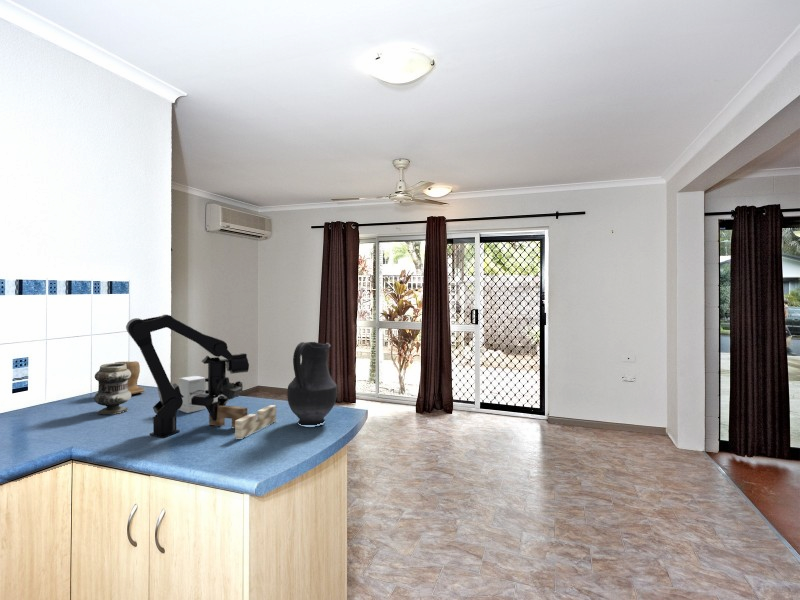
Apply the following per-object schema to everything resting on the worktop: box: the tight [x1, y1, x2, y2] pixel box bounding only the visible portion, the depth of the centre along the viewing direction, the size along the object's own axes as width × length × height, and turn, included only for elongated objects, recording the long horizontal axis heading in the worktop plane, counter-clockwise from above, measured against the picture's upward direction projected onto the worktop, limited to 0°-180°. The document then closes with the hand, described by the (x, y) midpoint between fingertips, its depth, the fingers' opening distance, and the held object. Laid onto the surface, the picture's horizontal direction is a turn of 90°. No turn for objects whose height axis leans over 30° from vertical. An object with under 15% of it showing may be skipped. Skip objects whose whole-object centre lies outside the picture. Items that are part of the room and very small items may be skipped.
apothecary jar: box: [93, 362, 132, 415], centre depth 173 cm, size 12×12×18 cm
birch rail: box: [234, 404, 277, 439], centre depth 154 cm, size 20×2×6 cm, turn 163°
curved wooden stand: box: [114, 360, 146, 396], centre depth 199 cm, size 15×12×15 cm
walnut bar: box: [208, 405, 248, 429], centre depth 157 cm, size 14×2×7 cm, turn 73°
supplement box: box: [178, 375, 207, 414], centre depth 177 cm, size 7×7×13 cm
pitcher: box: [286, 341, 338, 425], centre depth 160 cm, size 17×21×30 cm
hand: (216, 419), depth 159 cm, fingers closed on walnut bar, 2 cm apart
